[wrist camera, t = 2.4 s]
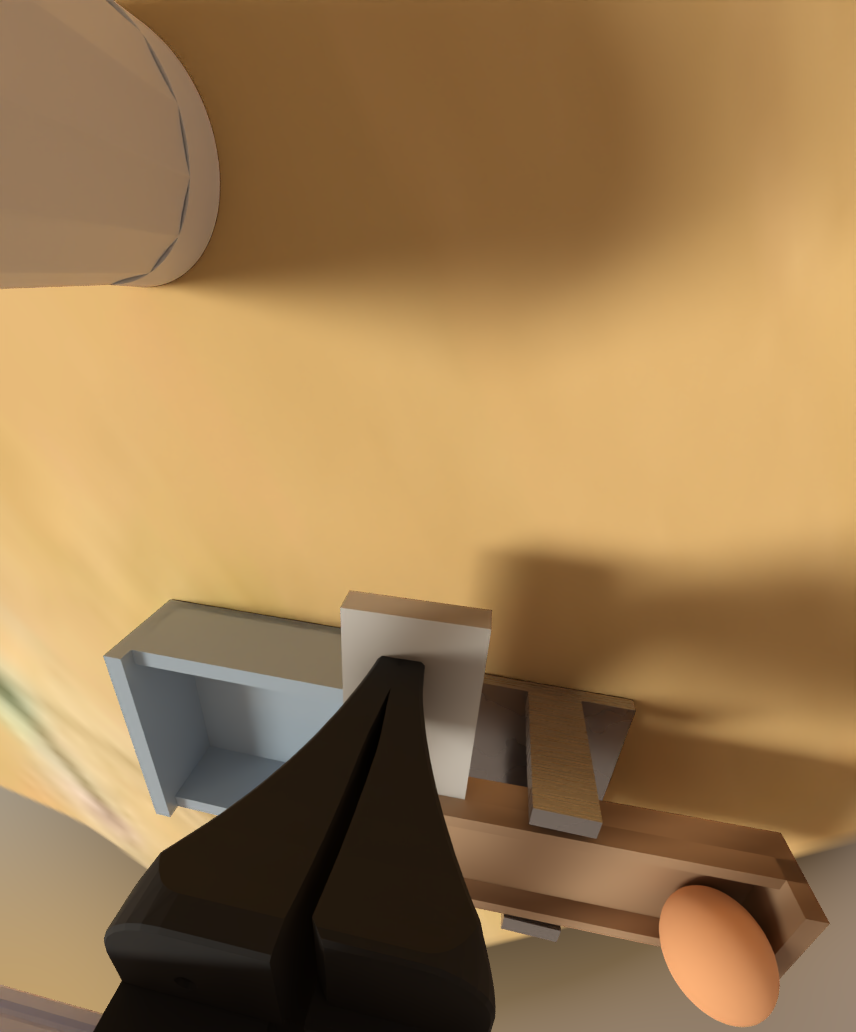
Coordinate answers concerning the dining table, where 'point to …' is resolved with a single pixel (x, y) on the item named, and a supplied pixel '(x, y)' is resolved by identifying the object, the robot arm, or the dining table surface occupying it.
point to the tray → (221, 699)
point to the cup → (98, 150)
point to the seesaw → (556, 854)
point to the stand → (550, 757)
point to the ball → (719, 955)
